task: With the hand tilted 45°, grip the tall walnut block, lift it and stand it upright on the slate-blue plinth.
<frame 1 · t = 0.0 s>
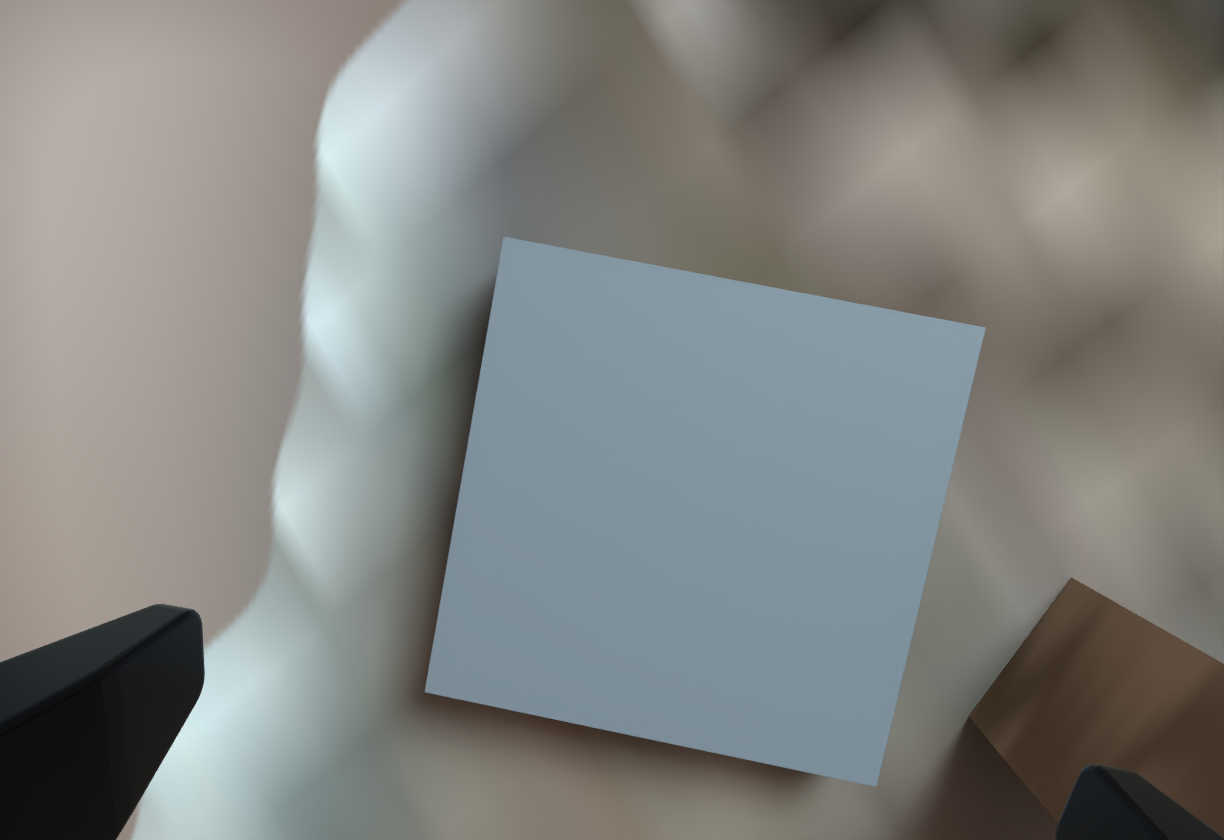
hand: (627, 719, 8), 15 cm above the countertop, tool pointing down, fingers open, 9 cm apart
walnut block: (1091, 694, 24), on the countertop
plinth: (689, 495, 24), on the countertop
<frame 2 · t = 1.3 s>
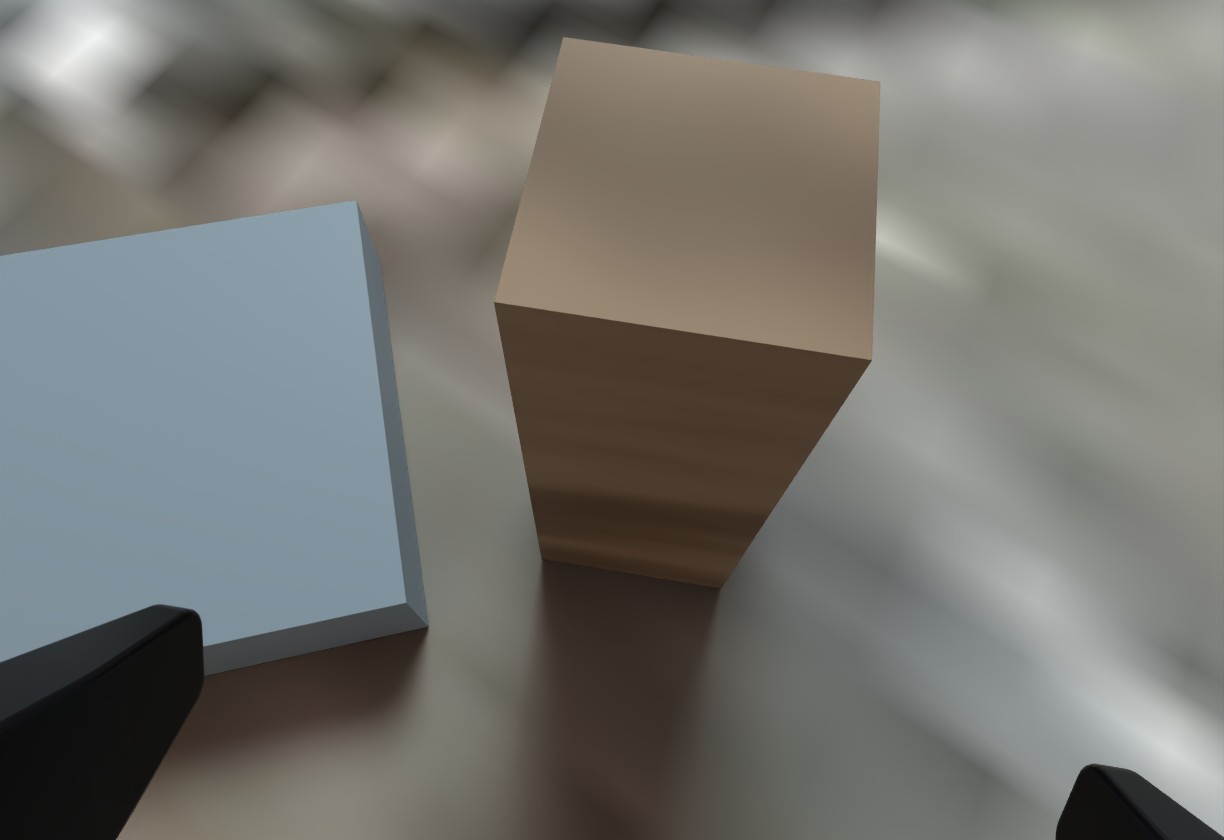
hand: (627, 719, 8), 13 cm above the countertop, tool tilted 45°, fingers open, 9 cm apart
walnut block: (643, 489, 24), on the countertop
plinth: (191, 465, 23), on the countertop
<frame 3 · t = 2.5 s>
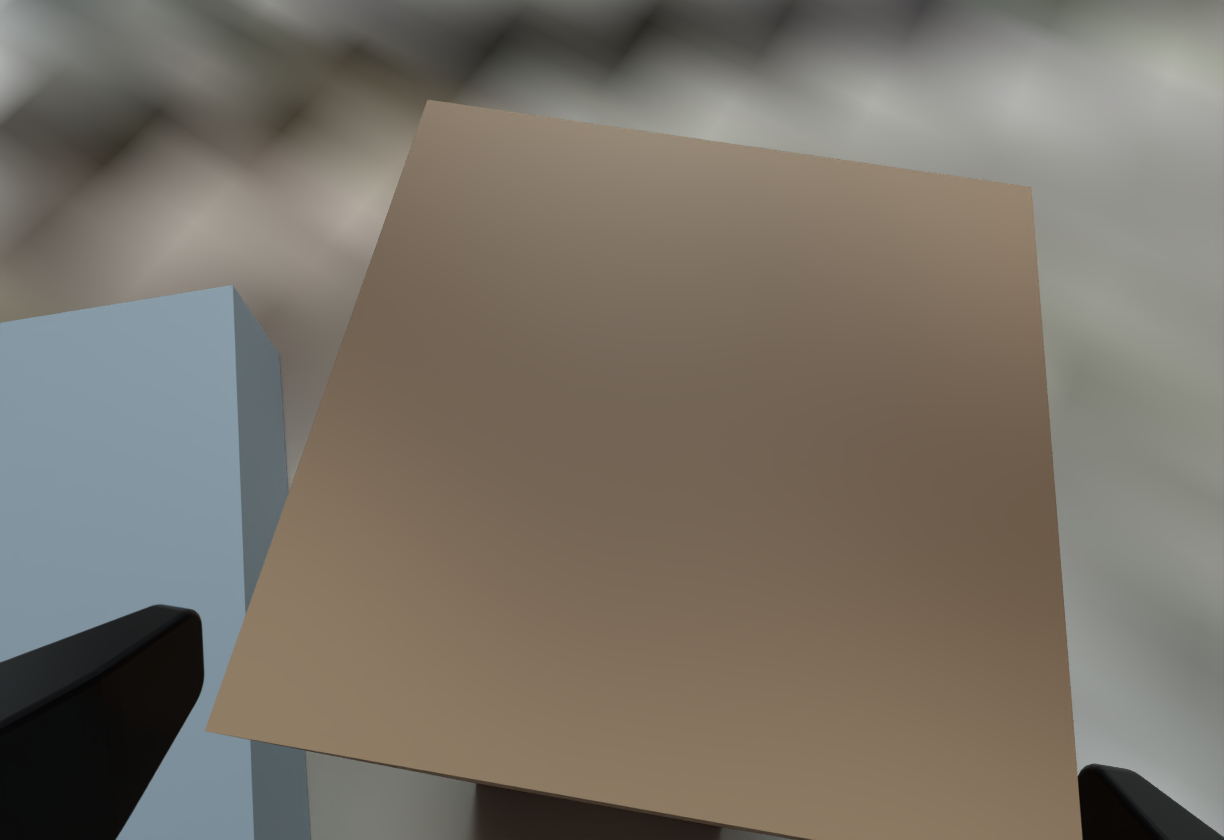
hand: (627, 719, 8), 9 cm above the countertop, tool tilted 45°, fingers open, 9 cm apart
walnut block: (617, 677, 17), on the countertop
plinth: (4, 645, 17), on the countertop
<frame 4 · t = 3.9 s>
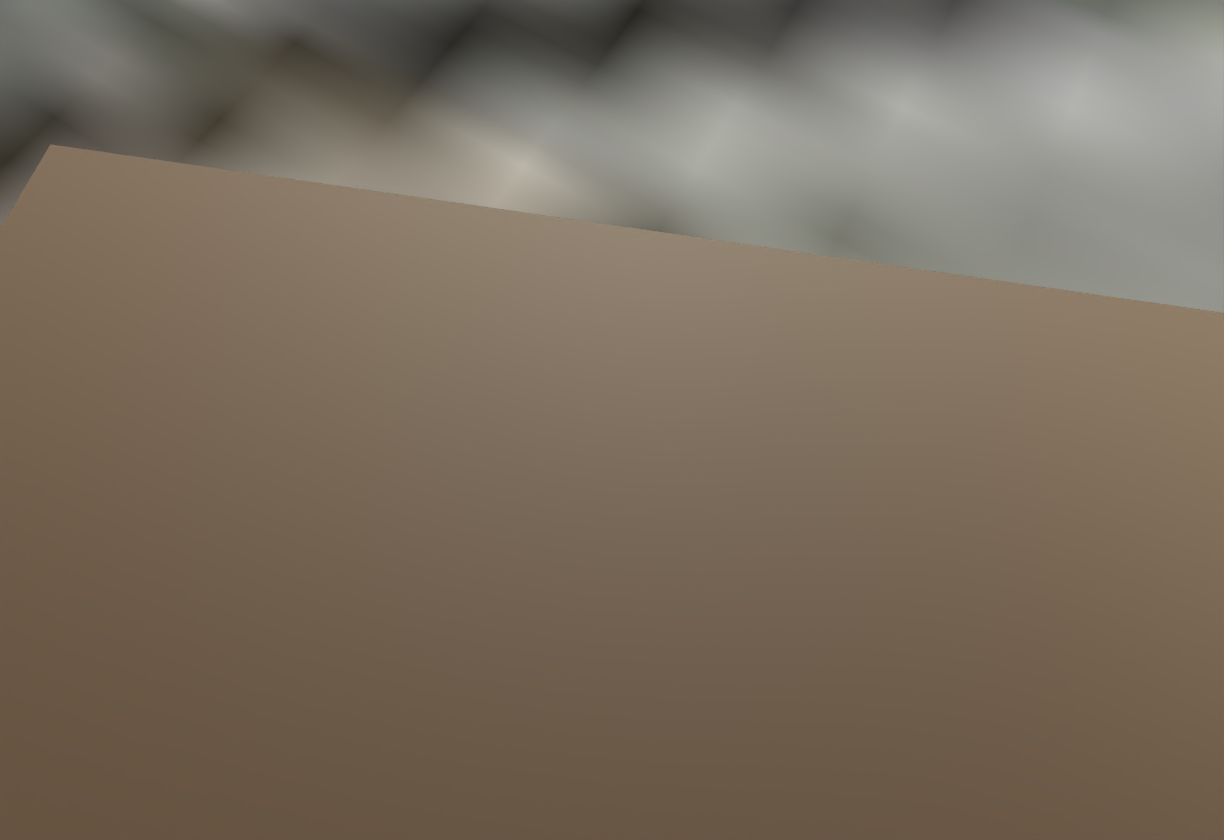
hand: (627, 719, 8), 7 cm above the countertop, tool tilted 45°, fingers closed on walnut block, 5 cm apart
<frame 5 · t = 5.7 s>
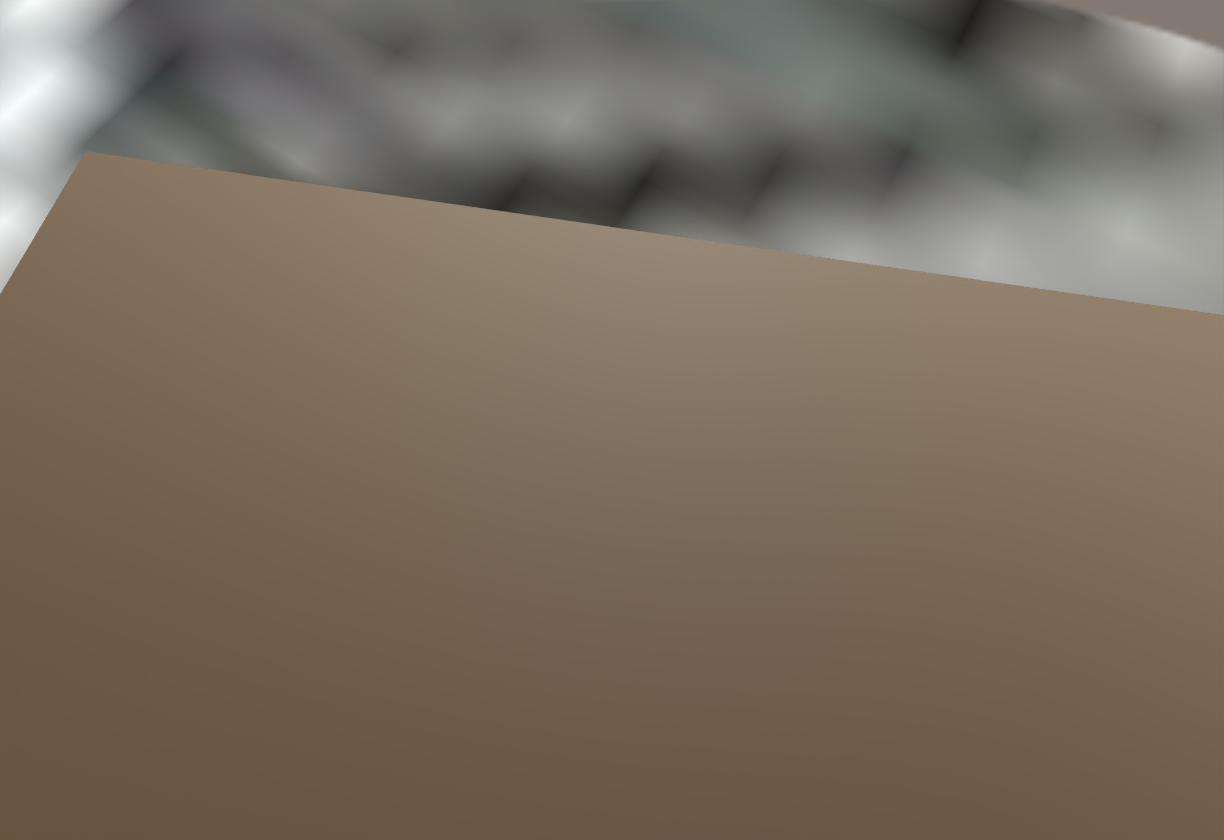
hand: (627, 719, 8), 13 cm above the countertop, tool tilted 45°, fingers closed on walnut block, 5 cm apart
when the fingers open (11 cm above the countertop, at t = 7.8 s): walnut block drops 1 cm, resting on plinth.
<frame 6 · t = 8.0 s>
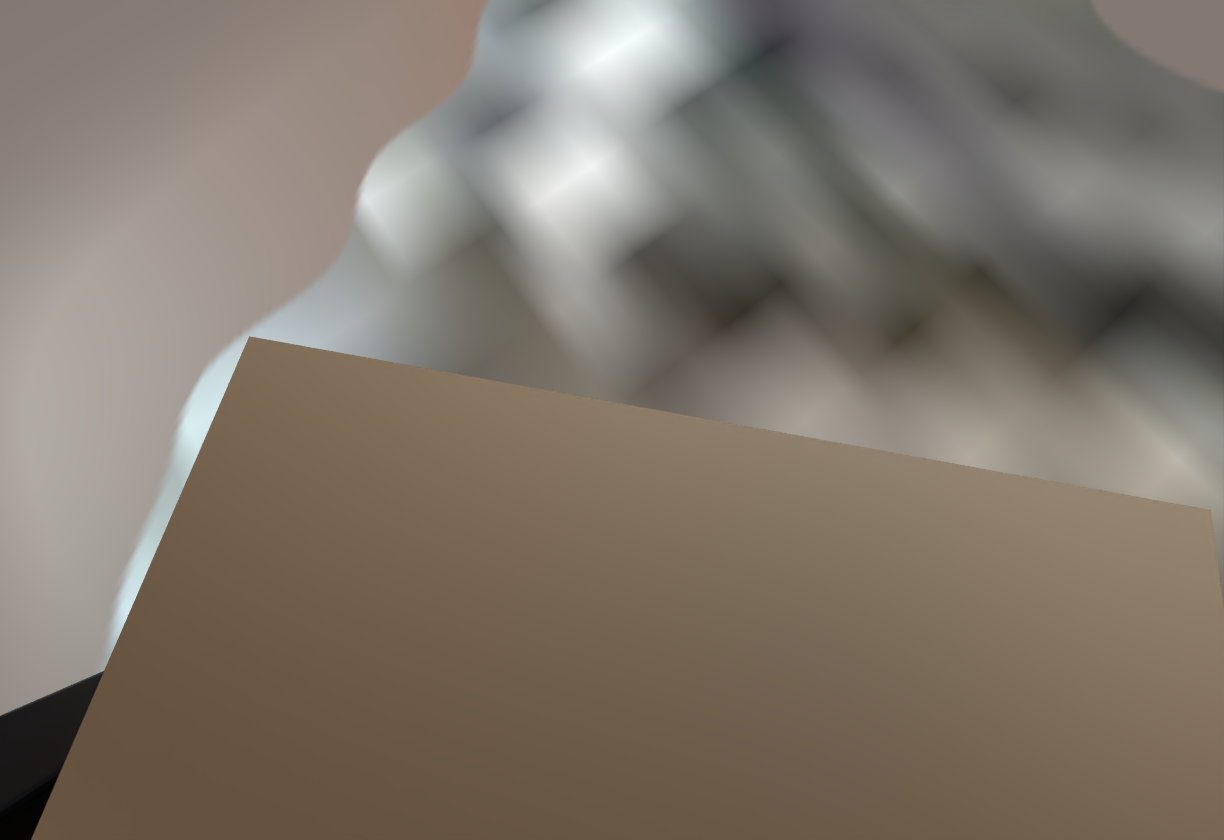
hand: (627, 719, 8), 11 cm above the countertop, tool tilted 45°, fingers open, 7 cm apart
walnut block: (594, 836, 15), point 3 cm above the countertop, touching plinth
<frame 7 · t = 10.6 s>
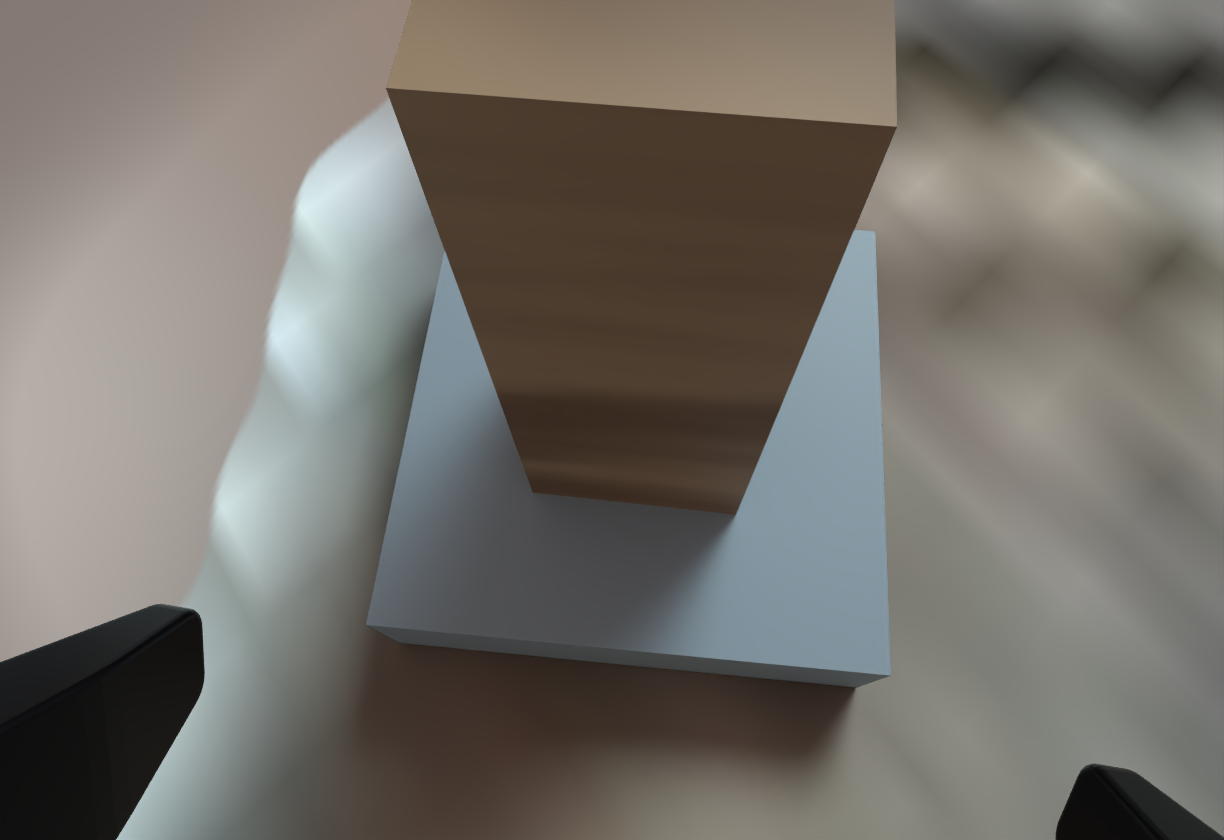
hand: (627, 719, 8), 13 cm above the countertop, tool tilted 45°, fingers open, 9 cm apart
walnut block: (644, 410, 21), point 3 cm above the countertop, touching plinth
plinth: (643, 451, 24), on the countertop
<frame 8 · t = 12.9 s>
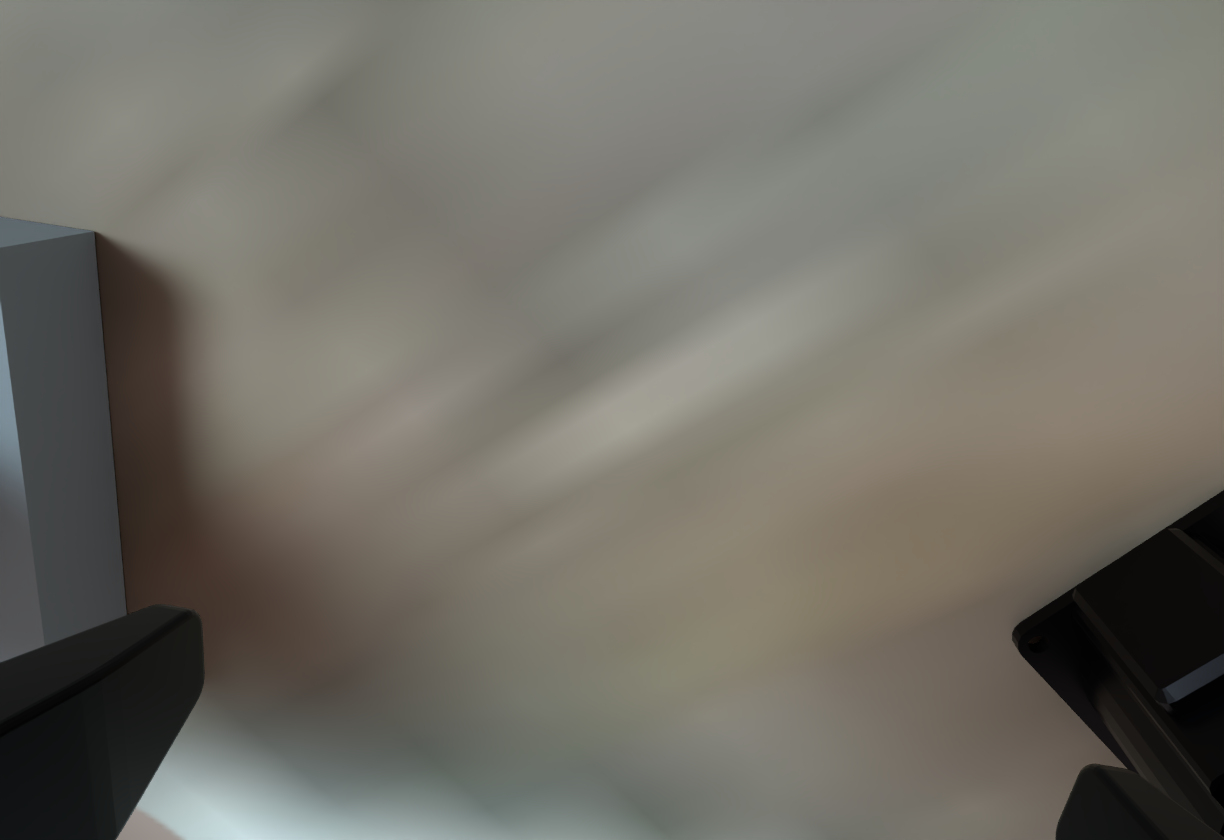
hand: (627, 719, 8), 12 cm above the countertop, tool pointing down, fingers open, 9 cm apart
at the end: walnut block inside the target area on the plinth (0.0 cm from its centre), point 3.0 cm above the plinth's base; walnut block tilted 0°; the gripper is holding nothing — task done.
